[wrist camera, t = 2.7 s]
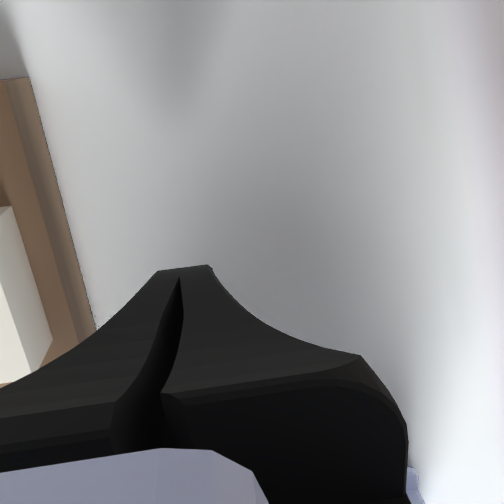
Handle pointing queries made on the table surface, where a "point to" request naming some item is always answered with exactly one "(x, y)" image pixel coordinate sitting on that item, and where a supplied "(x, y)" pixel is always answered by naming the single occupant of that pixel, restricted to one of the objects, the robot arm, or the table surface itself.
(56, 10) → the table surface
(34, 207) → the board
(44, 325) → the tile
